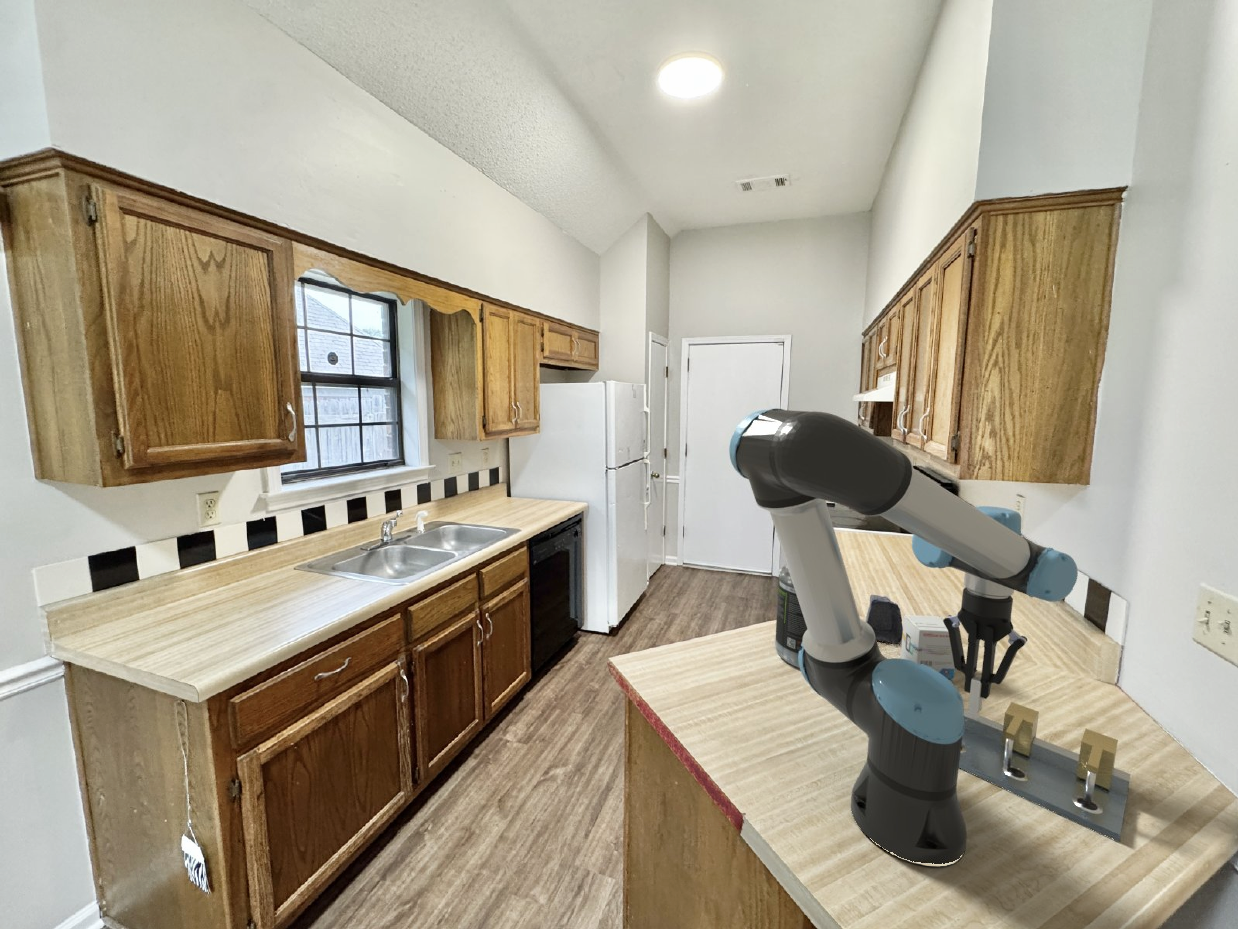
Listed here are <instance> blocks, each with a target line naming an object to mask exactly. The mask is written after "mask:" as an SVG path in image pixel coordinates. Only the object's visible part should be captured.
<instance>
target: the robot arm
mask: <svg viewBox="0 0 1238 929" xmlns="http://www.w3.org/2000/svg"><path fill="white" fill-rule="evenodd" d="M730 438H731V439H730V441H729V442H730V443H729V446H728V447H729V448H728V450H729V451H728V452H729V459H730V462H731V465H732V466H733V468H734V470H735V471H736V473H738V475H740V476H741V477H742V478H744V479H747V480H748V481H749V484H750V487H751V491H752V494H753V496H754V499H755V503H756V506H758V507H760V509H763V510H766V511H767V512H769V514H770V516H771V517H770V518H771V520H772V522H773V527H774V528H775V532H776V536H777V538H778V542H779V545H780V548H781V550H782V554H783V557H784V560H785V565H786V564H787V567H788V570H789V573H790V576H791V579H792V582H793V585H794V589H795V592H796V595H797V598H798V601H799V604H800V607H801V610H802V613H803V617H804V620H805V623H806V626H807V630H806V632H805V633H804V635H803V641H802V644H801V646H802V650H800V651H799V656H798V660H799V667H800V668H799V667H798V668H799V670H800V672H801V676H803V677H802V678H804V680H805V681H806V682H807V684H808V685H809V687H810V688H811V689H812V690H813V691H814V692H815V693H817V694H818V695H819V696H820V697H822V698H823V699H824V700H825V701H826V702H828V703H829V704H830V705H831V706H833V707H834V708H835V709H837V710H838V711H839V712H840V713H841V714H842V715H844V717H846V718H847V719H849V720H850V721H851V722H852V723H853V724H854V725H856V726H857V728H859V729H860V730H861V731H863V732H864V733H865V734H866V735H867V738H868V742H867V756H866V762H865V764H864V766H863V768H862V769H861V771H860V773H859V775H858V777H857V779H856V780H855V783H854V785H853V786H852V790H851V797H850V811H852V812H851V815H852V814H853V815H852V817H854V818H853V820H854V822H855V821H856V822H855V823H857V824H856V825H857V826H859V827H860V828H861V829H860V828H859V827H858V828H859V829H860V831H861V830H862V831H863V832H864V833H865V834H866V835H867V836H868V837H869V838H871V839H872V840H873V841H874V842H876V843H877V844H879V845H880V846H881V847H883V848H884V849H886V850H888V851H889V852H893V853H894V854H896V855H897V856H899V857H901V858H904V859H907V860H910V861H912V862H913V861H914V862H921V863H932V864H933V863H934V864H942V863H943V864H945V863H949V862H953V861H955V860H957V859H959V858H960V856H961V855H962V854H963V853H964V854H965V852H966V845H967V827H966V822H965V819H964V816H963V811H962V808H961V805H960V801H959V798H958V794H957V786H958V777H959V770H960V769H959V761H960V753H961V745H962V736H963V733H964V728H965V726H964V710H965V705H964V699H963V696H962V695H961V693H960V691H959V690H958V688H957V687H956V686H955V684H954V683H953V682H952V681H951V679H947V678H946V677H945V676H943V675H942V674H940V673H939V672H937V671H936V670H934V669H932V668H930V667H928V666H926V665H923V664H921V665H918V664H916V663H915V662H914V661H911V660H906V659H901V658H897V657H896V658H893V657H892V658H891V657H890V658H887V657H885V656H884V655H883V653H881V650H880V647H879V644H878V641H877V640H876V636H875V633H874V631H873V629H872V627H871V626H870V625H869V624H868V623H866V622H865V621H866V620H862V619H861V617H860V614H859V610H858V606H857V604H856V600H855V597H854V593H853V589H852V586H851V582H850V579H849V576H848V572H847V569H846V566H845V562H844V559H843V555H842V552H841V549H840V546H839V542H838V538H837V535H836V532H835V528H834V525H833V522H832V518H831V515H830V511H829V508H828V504H827V501H828V502H831V503H835V504H838V505H841V506H843V507H846V508H849V509H852V510H853V511H855V512H857V513H858V514H861V515H863V516H866V517H878V516H880V517H882V518H884V519H885V520H887V521H889V522H891V523H893V524H894V525H896V526H898V527H899V528H902V529H903V530H905V531H907V532H908V533H911V534H913V535H912V540H911V549H912V553H913V555H914V556H915V558H916V560H917V561H918V562H919V563H920V564H922V565H924V566H925V567H927V568H932V569H935V568H938V569H945V568H953V569H955V570H958V571H961V572H964V577H963V586H964V588H963V589H962V594H961V595H962V597H961V608H960V610H959V611H958V612H957V614H955V615H952V614H950V615H947V616H946V617H944V618H943V622H944V624H945V626H946V628H947V630H948V632H949V638H950V644H951V650H952V655H953V661H954V667H955V671H958V672H959V671H960V672H962V673H963V675H964V685H963V689H964V692H966V693H969V697H968V706H967V707H968V709H967V711H968V712H971V713H973V714H976V715H979V713H981V711H982V708H983V700H987V699H988V698H989V697H990V695H991V688H992V687H991V686H992V684H996V685H1000V684H1001V683H1002V682H1003V681H1004V680H1005V679H1006V675H1007V674H1008V672H1009V669H1010V668H1011V666H1012V664H1013V661H1014V660H1015V657H1016V656H1017V653H1018V651H1019V650H1020V649H1022V648H1023V647H1024V646H1025V645H1026V644H1027V642H1028V638H1027V637H1026V636H1025V635H1020V634H1019V633H1018V632H1017V631H1015V629H1014V625H1013V623H1012V612H1013V611H1012V610H1013V602H1014V598H1013V596H1012V595H1014V594H1015V592H1018V593H1021V594H1024V595H1027V596H1028V597H1031V598H1036V599H1040V600H1043V601H1045V602H1050V603H1052V602H1053V603H1055V602H1059V601H1062V600H1064V599H1065V598H1067V597H1068V596H1069V595H1070V593H1071V592H1072V591H1073V590H1074V587H1075V585H1076V583H1077V580H1078V567H1077V563H1076V561H1075V560H1074V558H1073V557H1072V556H1071V555H1069V554H1067V553H1064V552H1062V551H1060V550H1055V549H1054V548H1053V547H1046V546H1041V545H1038V544H1037V543H1036V544H1035V543H1034V542H1032V541H1031V540H1029V539H1027V538H1026V537H1024V536H1022V535H1023V534H1022V516H1021V514H1020V513H1019V512H1017V511H1016V510H1013V509H1010V508H1005V507H998V506H988V505H987V506H985V505H984V506H981V505H980V506H974V505H972V504H970V503H969V502H967V501H966V500H964V499H962V498H961V497H959V496H957V495H955V494H954V493H952V492H950V491H949V490H947V489H946V488H945V487H943V486H941V485H940V484H938V483H936V482H935V481H933V480H931V479H930V478H928V477H927V476H925V475H923V474H922V473H920V472H919V471H917V470H915V469H914V466H913V463H912V461H911V459H910V458H909V456H908V455H907V454H905V453H903V452H902V451H900V450H899V449H897V448H896V447H894V446H892V445H890V444H889V443H887V442H886V441H884V440H883V439H881V438H879V437H877V436H876V435H875V434H873V433H871V432H870V431H868V430H866V429H864V428H863V427H861V426H859V425H857V424H855V423H854V422H852V421H850V420H848V419H845V418H843V417H840V416H838V415H836V414H833V413H829V412H823V411H803V410H788V409H787V410H786V409H782V408H770V409H762V410H757V411H755V412H752V413H750V414H748V415H747V416H746V417H745V418H743V419H742V420H741V421H740V422H739V423H738V424H737V426H736V427H735V429H734V431H733V434H732V436H731V437H730ZM960 625H961V626H962V627H963V629H964V630H965V632H966V633H967V653H966V657H965V653H964V652H965V651H964V647H963V641H962V636H961V629H960ZM1007 636H1009V637H1008V644H1010V645H1009V647H1007V650H1006V651H1005V653H1004V656H1003V657H1002V659H1001V661H1000V663H999V666H998V668H997V670H996V672H995V673H994V668H995V667H994V666H995V658H996V649H997V648H996V647H997V644H998V642H1000V641H1001V640H1002V639H1004V638H1005V637H1007ZM980 641H982V642H983V647H984V649H983V657H982V665H981V666H982V667H981V668H982V669H981V675H979V674H976V673H977V672H978V669H977V668H978V659H979V658H978V657H979V651H980V650H979V649H980ZM965 658H966V659H965ZM862 831H861V832H862ZM863 832H862V833H863ZM864 833H863V834H864ZM865 834H864V835H865ZM866 835H865V836H866ZM867 836H866V837H867ZM868 837H867V838H868ZM869 838H868V839H869ZM964 851H965V852H964Z"/></svg>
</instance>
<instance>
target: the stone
mask: <svg viewBox="0 0 1238 929" xmlns="http://www.w3.org/2000/svg"><path fill="white" fill-rule="evenodd" d="M864 621H865V622H866V623H868V624H869V625H870V626H871V627H872V629H873V631H874V633H875V636H876V640H877V642H886V643H891V644H895V645H898V644H901V643H902V633H903V617H902V612H901V608H900V607H899V605H898V604H897V603H896V602H894V601H892V600H891V599H890V598H889V597H888V596H885V595H884V596H881V595H876V594H871V595H870V597H869V606H868V609H867V613H866V617H865V620H864Z"/></svg>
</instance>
